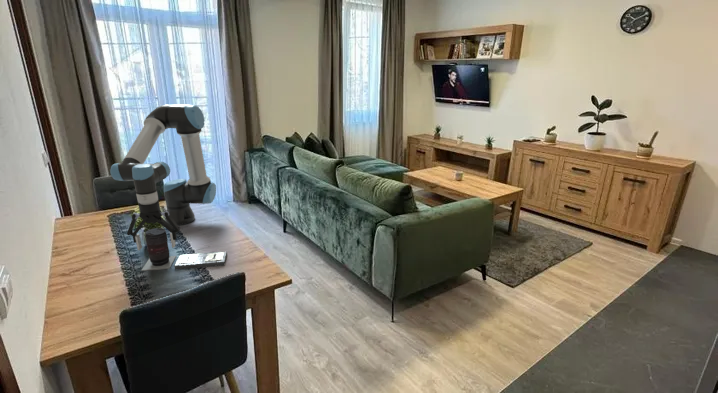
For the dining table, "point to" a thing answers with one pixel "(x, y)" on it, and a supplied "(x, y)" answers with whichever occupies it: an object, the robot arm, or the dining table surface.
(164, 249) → the camera lens
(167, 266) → the rubber mat
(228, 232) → the dining table surface
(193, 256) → the psu chassis
